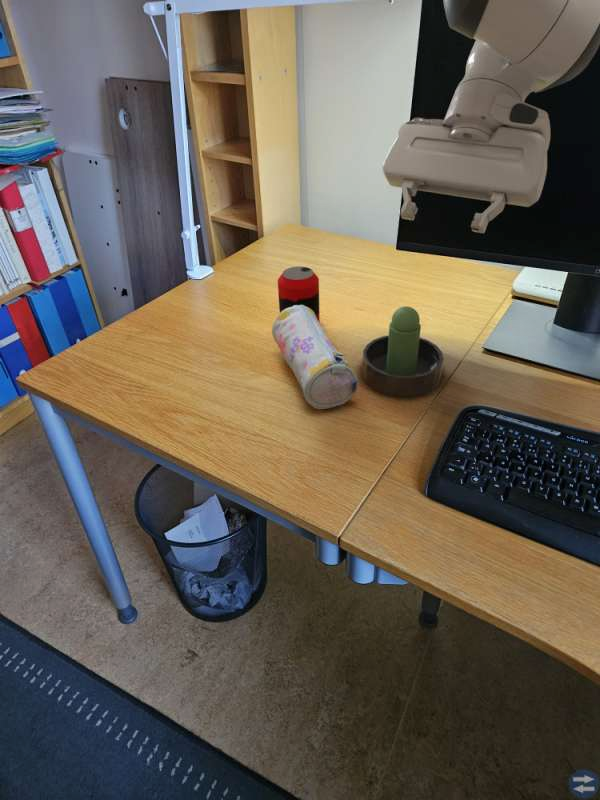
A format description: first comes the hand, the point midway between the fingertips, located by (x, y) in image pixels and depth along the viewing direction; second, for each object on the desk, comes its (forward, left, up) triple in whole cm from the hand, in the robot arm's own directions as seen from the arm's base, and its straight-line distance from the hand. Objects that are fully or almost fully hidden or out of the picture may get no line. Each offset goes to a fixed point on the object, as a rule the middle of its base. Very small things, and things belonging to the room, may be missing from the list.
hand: (440, 223), depth 71 cm
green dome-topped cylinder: (+5, -8, -29) cm, 30 cm away
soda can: (+27, -16, -30) cm, 43 cm away
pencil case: (+19, -2, -30) cm, 35 cm away
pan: (+5, -8, -29) cm, 31 cm away
